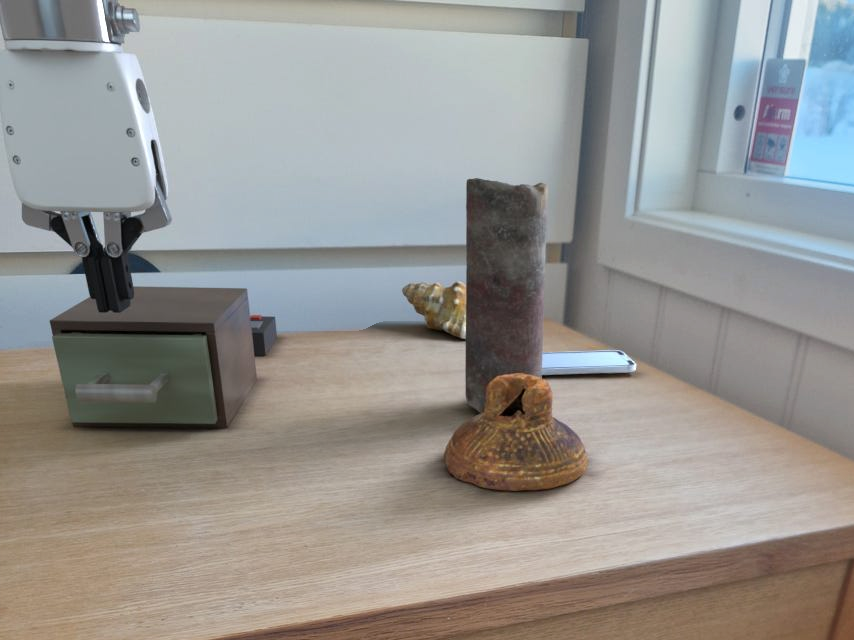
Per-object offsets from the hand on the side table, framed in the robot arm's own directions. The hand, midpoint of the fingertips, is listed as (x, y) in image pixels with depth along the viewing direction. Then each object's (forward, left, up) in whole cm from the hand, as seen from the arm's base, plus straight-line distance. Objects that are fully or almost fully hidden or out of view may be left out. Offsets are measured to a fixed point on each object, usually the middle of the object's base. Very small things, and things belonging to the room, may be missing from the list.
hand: (115, 308), depth 70 cm
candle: (+32, +11, -11) cm, 35 cm away
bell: (+32, -5, -11) cm, 34 cm away
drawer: (0, +7, -10) cm, 12 cm away
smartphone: (+40, +26, -11) cm, 49 cm away
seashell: (+27, +43, -11) cm, 52 cm away
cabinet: (0, +12, -11) cm, 16 cm away
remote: (+4, +34, -11) cm, 36 cm away
